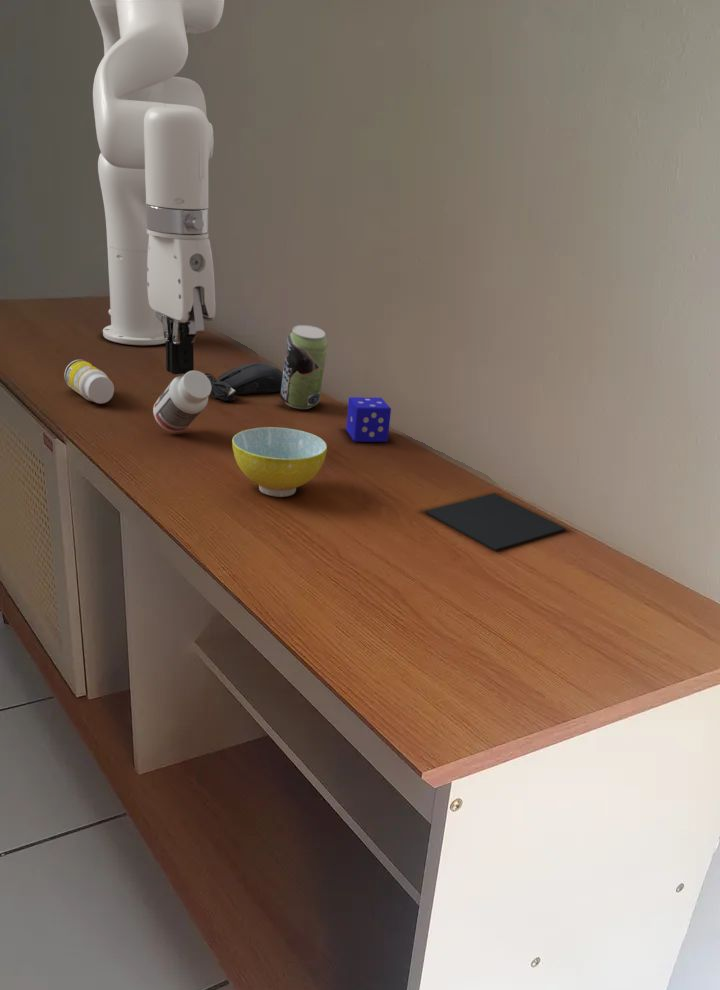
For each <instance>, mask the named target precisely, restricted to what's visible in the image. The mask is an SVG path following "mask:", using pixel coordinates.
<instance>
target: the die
mask: <svg viewBox="0 0 720 990" xmlns="http://www.w3.org/2000/svg"><path fill="white" fill-rule="evenodd" d="M391 412H392V408H391V407H390V406H389V405H388V403H387V402H386V401H385V400H384V399H383V397H364V396H363V397H362V396H361V397H360V396H359V397H358V396H357V397H356V396H354V397H353V396H351V397H349V398H348V404H347V417H346V427H345V428H346V429H345V431H346V432H347V433H348V435H349V436H350V438H351V439H352V441H353V442H354V443H387V442H388V440H389V431H390V425H391Z"/></svg>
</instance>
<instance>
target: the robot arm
mask: <svg viewBox="0 0 720 990" xmlns="http://www.w3.org/2000/svg"><path fill="white" fill-rule="evenodd" d="M89 2H90V5H91V8H92V10H93V13H94V16H95V18H96V20H97V23H98V25H99V29H100V30H101V31H100V32H101V36H102V40H103V55H104V56H103V57H102V59H101V60H100V62H99V65H98V66H97V67H96V72H95V75H94V79H93V86H92V105H93V113H94V124H95V132H96V139H97V143H98V147H99V151H100V153H99V156H98V160H97V172H98V179H99V184H100V190H101V195H102V201H103V202H102V203H103V209H104V217H105V227H106V246H107V265H108V267H107V268H108V285H109V286H108V287H109V309H108V315H109V316H110V324H109V325H107V326H105V327H104V328H103V329H102V336H103V337H104V339H106V340H108V341H110V342H113V343H117V344H122V345H129V346H157V345H163V344H165V368H166V371H167V372H168V373H170V374H172V375H185V374H186V373H187V372H189V371H193V370H194V369H195V365H194V362H195V361H194V356H195V355H194V343H196V337H197V335H200V334H204V333H205V323H204V321H206V322H212V321H214V319H215V317H216V285H215V283H216V282H215V270H214V269H215V268H214V260H213V258H214V257H213V252H212V247H211V240H210V238H209V231H210V228H209V226H210V225H209V223H210V222H209V219H210V217H209V215H210V213H209V211H210V210H209V206H210V205H209V202H210V201H209V199H210V198H209V197H210V196H209V189H210V188H209V180H210V179H209V161H210V160H211V159H212V158H213V155H214V145H215V138H214V128H213V124H212V123H211V122H209V119H208V117H207V103H206V98H205V94H204V92H203V89H202V88H201V86H200V84H199V83H197V82H196V81H194V80H193V79H191V78H187V77H183V76H176V75H177V74H178V73H180V72H181V70H182V69H183V68H184V66H185V65H186V62H187V59H188V56H189V43H188V38H187V34H203V33H206V32H209V31H211V30H214V29H215V28H216V27H217V26H218V24H219V23H220V22H221V19H222V16H223V14H224V7H225V0H89Z"/></svg>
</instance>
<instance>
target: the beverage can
mask: <svg viewBox="0 0 720 990" xmlns="http://www.w3.org/2000/svg"><path fill="white" fill-rule="evenodd" d="M328 345H329V341H328V338H327V336H326V332H325V331H324V330H323V329H321V328H320V327H317V326H314V325H309V324H298V325H295V326H293V327H292V330H291V331H290V333H289V334H288V335H287V339H286V347H285V355H284V363H283V371H282V373H283V378H282V385H281V391H280V393H279V396H280V399H281V400H282V402H283V403H285V404H286V405H287V406H288V407H290V408H293V409H296V410H309V409H311V408H313V407H315V406H317V405H318V404H319V403H320V396H321V389H322V383H323V376H324V371H325V365H326V358H327V351H328Z"/></svg>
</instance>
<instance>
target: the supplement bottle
mask: <svg viewBox="0 0 720 990" xmlns="http://www.w3.org/2000/svg"><path fill="white" fill-rule="evenodd" d="M64 381H65V383H66V385H67V386H68V388H70V389H71V390H73V392H75V393H76V394H78V395H80V396H81V397H82V398H84V400H86V401H89V402H94V403H96V404H100V405H102V404H106V403H108V402H110V400H112V398H113V397H114V393H115V386H114V383H113V381H112V380H111V379H110V378H109V377H108V375H107V374H106V373H105V372H104V371H102V370H101V369H99V368H97V366H96V365H93V364H92V363H90V362H89V361H87V360H85V359H75V360H73V361H70V363H69V364H68V365H67V366H66V368H65V370H64Z"/></svg>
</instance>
